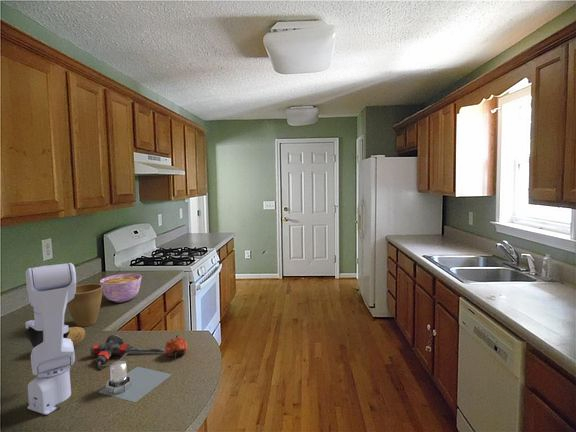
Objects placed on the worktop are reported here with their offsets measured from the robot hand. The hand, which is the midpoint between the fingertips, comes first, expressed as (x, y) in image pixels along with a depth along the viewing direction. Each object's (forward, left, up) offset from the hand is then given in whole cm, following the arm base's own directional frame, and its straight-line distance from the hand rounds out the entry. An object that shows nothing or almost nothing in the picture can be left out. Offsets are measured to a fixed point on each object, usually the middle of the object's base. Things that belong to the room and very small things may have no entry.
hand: (48, 352), depth 108 cm
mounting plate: (+7, -27, -10) cm, 29 cm away
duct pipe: (+4, -24, -9) cm, 26 cm away
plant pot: (+37, +31, -10) cm, 49 cm away
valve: (+19, -10, -10) cm, 24 cm away
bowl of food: (+67, +41, -10) cm, 79 cm away
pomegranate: (+26, -27, -10) cm, 39 cm away
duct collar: (+4, -24, -10) cm, 26 cm away
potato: (+17, +17, -10) cm, 26 cm away
